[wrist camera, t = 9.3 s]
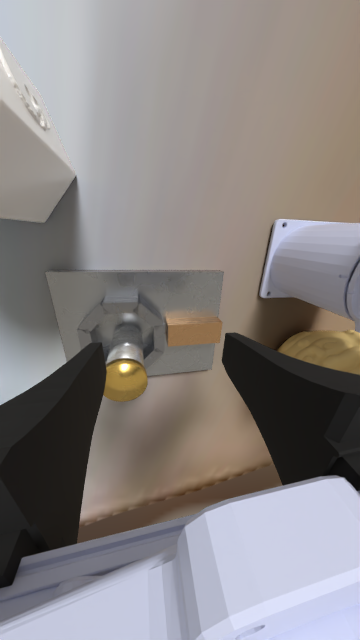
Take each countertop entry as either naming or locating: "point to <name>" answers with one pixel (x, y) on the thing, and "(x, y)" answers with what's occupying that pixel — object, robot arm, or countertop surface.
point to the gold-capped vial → (125, 365)
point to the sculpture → (326, 349)
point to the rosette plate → (151, 288)
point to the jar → (28, 148)
